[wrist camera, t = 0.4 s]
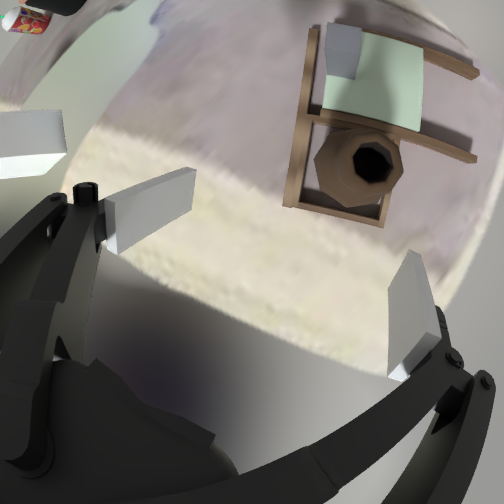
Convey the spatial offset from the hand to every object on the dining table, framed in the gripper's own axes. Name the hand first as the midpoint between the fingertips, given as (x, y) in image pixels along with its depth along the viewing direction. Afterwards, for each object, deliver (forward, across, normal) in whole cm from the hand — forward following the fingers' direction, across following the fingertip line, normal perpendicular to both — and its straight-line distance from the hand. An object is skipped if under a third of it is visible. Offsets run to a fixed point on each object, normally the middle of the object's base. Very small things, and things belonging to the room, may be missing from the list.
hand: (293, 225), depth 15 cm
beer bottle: (+24, +2, 0) cm, 24 cm away
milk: (+19, -61, -8) cm, 64 cm away
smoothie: (+25, -88, +28) cm, 96 cm away
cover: (+23, +2, +14) cm, 27 cm away
